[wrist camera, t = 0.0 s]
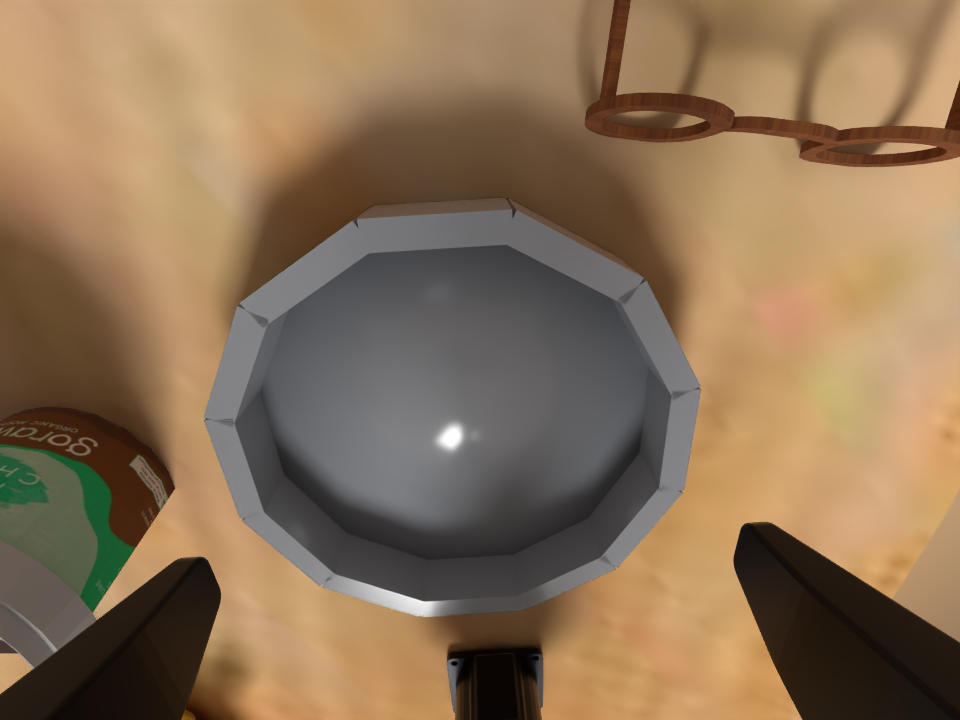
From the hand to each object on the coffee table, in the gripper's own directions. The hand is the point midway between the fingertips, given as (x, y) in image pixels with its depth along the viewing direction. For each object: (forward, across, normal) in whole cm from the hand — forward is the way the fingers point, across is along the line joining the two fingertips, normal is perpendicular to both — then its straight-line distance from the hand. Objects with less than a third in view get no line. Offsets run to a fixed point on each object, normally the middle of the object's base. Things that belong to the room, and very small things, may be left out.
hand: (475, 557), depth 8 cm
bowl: (+15, +1, +6) cm, 16 cm away
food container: (+15, +21, +6) cm, 27 cm away
